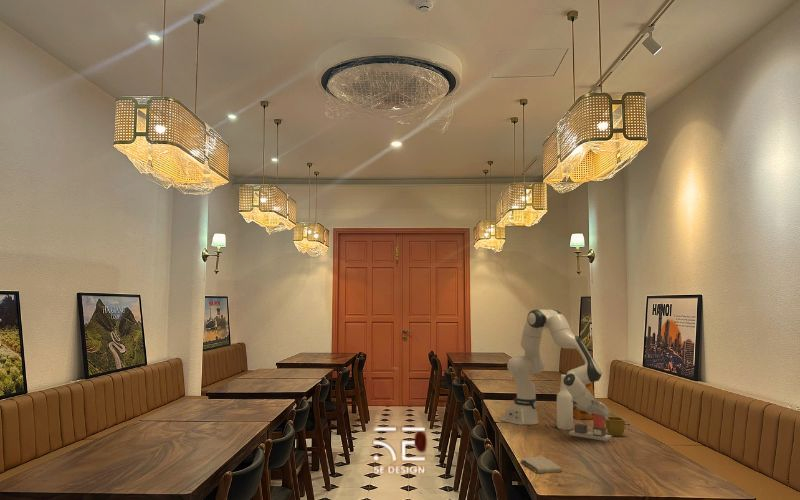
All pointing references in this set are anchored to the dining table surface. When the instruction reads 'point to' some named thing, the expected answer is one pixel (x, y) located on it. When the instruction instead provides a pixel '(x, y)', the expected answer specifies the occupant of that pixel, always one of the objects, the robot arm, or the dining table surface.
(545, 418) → the dining table surface
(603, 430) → the grey cubes on base
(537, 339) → the robot arm
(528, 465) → the washcloth
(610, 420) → the flower pot
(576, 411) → the coffee package
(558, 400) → the alcohol
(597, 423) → the tall red square pillar
